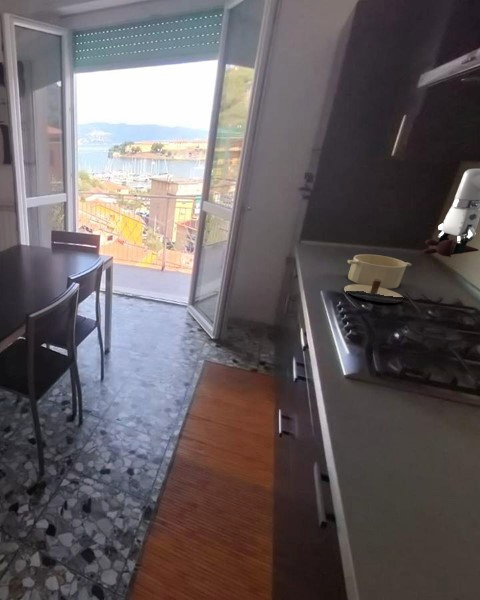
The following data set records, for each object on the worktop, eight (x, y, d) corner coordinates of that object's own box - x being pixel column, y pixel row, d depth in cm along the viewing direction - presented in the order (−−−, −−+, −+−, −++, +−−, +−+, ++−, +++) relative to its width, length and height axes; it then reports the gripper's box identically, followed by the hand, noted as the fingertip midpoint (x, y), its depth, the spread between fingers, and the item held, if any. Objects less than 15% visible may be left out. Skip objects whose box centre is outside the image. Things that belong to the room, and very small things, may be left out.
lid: (414, 307, 133) (421, 290, 130) (358, 303, 136) (363, 287, 133) (384, 288, 150) (390, 273, 147) (335, 285, 153) (339, 270, 150)
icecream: (480, 241, 134) (426, 238, 145) (482, 239, 129) (426, 237, 140) (475, 259, 136) (422, 255, 146) (477, 258, 130) (421, 254, 141)
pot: (416, 290, 147) (425, 268, 143) (353, 286, 151) (360, 265, 147) (390, 275, 163) (397, 255, 159) (334, 272, 167) (339, 253, 163)
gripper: (499, 207, 123) (478, 257, 130) (460, 201, 138) (443, 245, 145) (474, 207, 124) (454, 256, 131) (437, 201, 140) (422, 244, 147)
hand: (448, 250), depth 138 cm, fingers closed on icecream, 7 cm apart
